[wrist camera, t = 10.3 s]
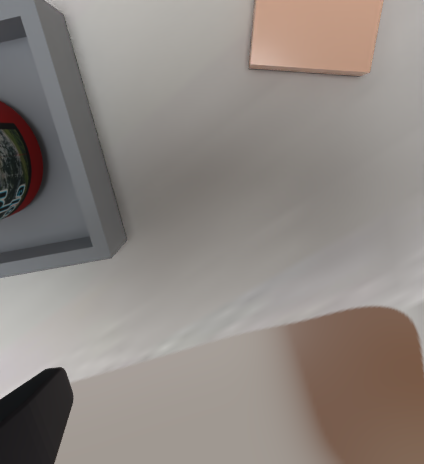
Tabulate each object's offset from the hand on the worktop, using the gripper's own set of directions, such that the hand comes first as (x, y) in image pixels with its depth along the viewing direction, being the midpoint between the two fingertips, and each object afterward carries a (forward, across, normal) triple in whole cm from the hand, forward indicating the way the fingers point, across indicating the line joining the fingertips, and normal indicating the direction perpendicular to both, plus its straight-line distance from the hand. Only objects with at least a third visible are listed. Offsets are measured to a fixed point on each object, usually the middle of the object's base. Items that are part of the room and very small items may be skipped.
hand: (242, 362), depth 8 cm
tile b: (+13, -6, -11) cm, 18 cm away
